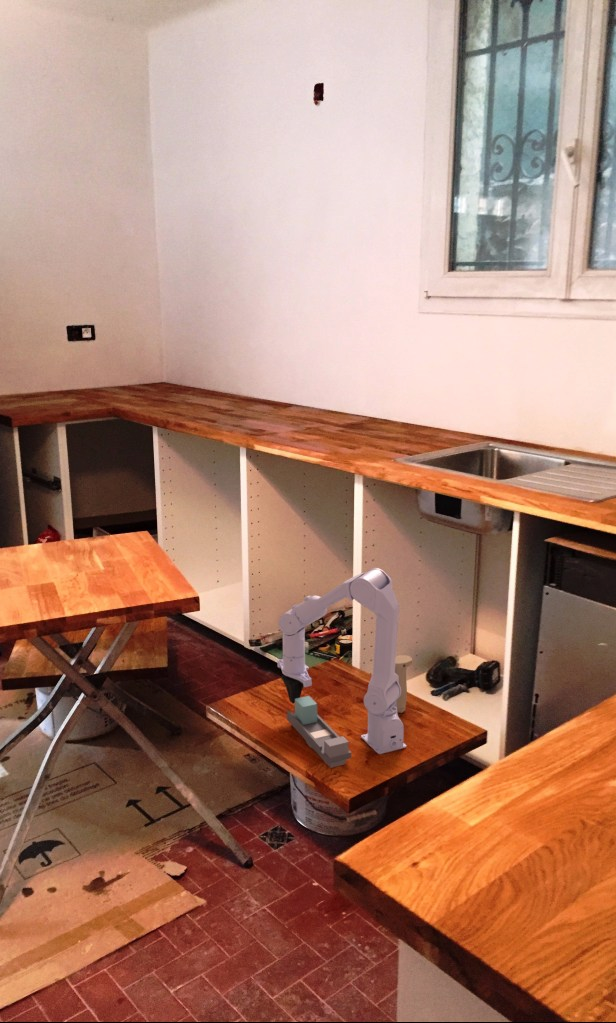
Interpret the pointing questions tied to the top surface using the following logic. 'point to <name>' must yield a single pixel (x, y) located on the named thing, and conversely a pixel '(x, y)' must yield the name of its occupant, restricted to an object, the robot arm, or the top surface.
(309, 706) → the rider
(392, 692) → the robot arm
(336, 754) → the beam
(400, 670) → the handle
